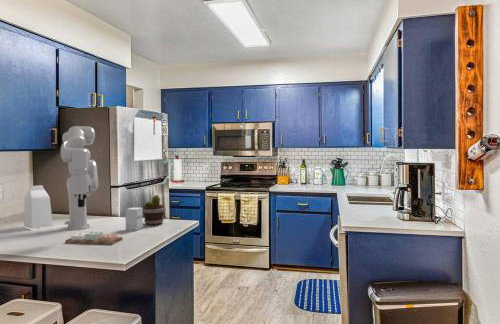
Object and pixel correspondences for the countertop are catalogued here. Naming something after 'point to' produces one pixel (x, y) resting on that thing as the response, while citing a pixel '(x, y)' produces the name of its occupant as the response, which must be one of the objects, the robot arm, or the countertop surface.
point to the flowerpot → (153, 211)
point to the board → (94, 241)
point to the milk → (37, 208)
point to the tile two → (93, 235)
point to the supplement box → (134, 219)
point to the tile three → (108, 237)
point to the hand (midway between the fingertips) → (81, 206)
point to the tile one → (78, 236)
